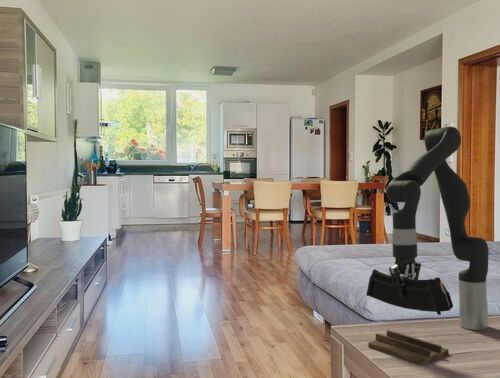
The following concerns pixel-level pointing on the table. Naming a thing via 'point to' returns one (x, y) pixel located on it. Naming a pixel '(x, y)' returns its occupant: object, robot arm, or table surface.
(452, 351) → the table surface
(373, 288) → the magazine
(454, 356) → the table surface
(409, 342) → the stand
